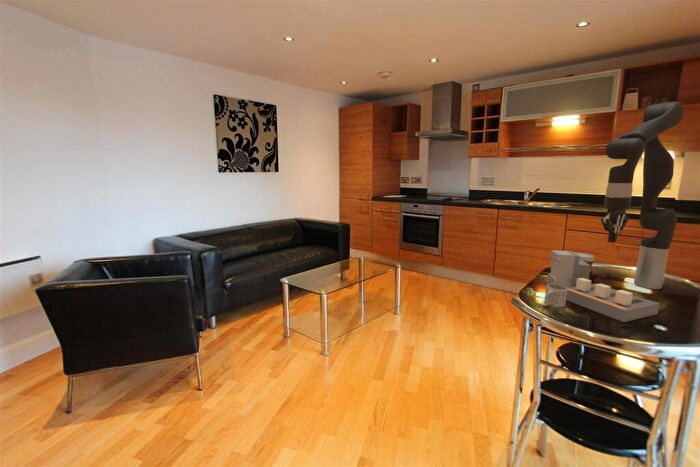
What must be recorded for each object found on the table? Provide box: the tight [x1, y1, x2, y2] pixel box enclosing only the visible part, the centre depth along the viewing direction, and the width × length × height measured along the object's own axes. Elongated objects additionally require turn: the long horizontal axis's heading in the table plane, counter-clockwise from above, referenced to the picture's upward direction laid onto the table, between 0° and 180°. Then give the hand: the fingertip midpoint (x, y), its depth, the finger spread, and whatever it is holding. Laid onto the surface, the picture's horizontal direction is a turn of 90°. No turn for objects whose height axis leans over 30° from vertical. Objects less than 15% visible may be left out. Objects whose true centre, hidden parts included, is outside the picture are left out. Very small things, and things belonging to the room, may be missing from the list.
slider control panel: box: [566, 283, 661, 323], centre depth 127 cm, size 18×22×4 cm
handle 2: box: [614, 289, 634, 306], centre depth 118 cm, size 3×4×4 cm
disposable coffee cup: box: [575, 252, 596, 271], centre depth 154 cm, size 10×10×12 cm
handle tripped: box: [594, 283, 612, 298], centre depth 125 cm, size 3×4×4 cm
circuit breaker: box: [546, 249, 593, 288], centre depth 145 cm, size 8×14×15 cm, turn 78°
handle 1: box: [575, 278, 592, 292], centre depth 131 cm, size 3×4×4 cm
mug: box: [544, 284, 568, 308], centre depth 127 cm, size 10×7×7 cm
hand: (612, 242), depth 129 cm, fingers closed
